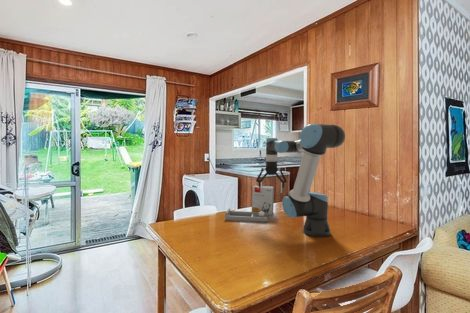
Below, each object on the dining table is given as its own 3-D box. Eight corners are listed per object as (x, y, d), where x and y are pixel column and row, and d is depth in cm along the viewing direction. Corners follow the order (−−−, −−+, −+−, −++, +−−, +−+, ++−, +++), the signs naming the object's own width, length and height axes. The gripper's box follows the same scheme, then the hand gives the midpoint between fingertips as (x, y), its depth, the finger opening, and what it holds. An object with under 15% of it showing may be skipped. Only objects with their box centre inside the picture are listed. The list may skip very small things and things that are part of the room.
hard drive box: (251, 213, 191) (251, 186, 190) (253, 210, 198) (253, 185, 198) (272, 215, 187) (272, 187, 186) (273, 212, 194) (274, 186, 193)
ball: (264, 216, 177) (264, 210, 177) (264, 217, 173) (264, 211, 173) (258, 215, 178) (258, 210, 178) (258, 217, 174) (258, 211, 174)
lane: (267, 216, 182) (267, 209, 182) (267, 222, 168) (267, 214, 168) (228, 214, 186) (228, 208, 186) (225, 220, 173) (225, 213, 172)
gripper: (290, 160, 175) (289, 191, 175) (253, 160, 178) (253, 190, 179) (291, 161, 167) (290, 193, 168) (252, 161, 170) (252, 192, 171)
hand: (271, 192), depth 173 cm, fingers open, 13 cm apart
